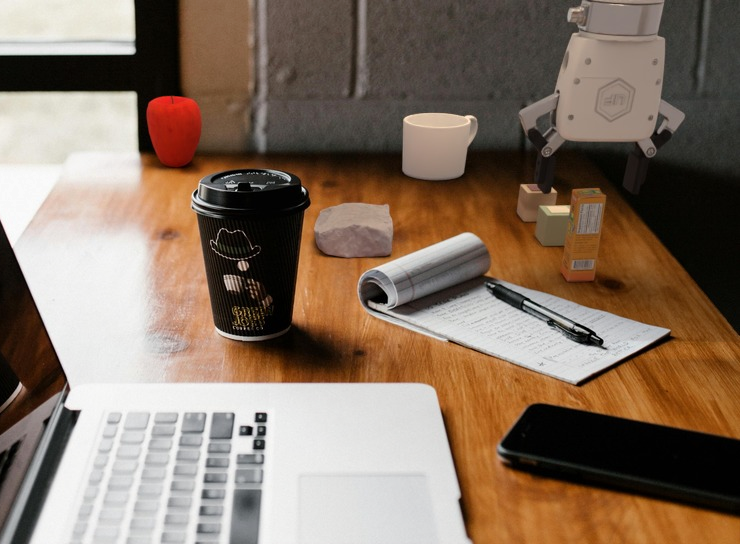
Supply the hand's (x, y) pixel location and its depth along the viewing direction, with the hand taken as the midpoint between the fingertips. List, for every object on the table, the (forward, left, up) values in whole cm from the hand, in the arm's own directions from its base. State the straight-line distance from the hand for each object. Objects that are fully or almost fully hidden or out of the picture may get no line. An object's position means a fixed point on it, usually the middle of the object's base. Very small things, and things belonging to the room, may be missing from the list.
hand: (586, 190), depth 95 cm
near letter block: (-1, -12, -10) cm, 16 cm away
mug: (+8, -46, -10) cm, 47 cm away
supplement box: (0, 0, -10) cm, 10 cm away
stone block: (+25, -13, -10) cm, 30 cm away
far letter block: (-1, -22, -10) cm, 24 cm away
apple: (+51, -52, -10) cm, 73 cm away
